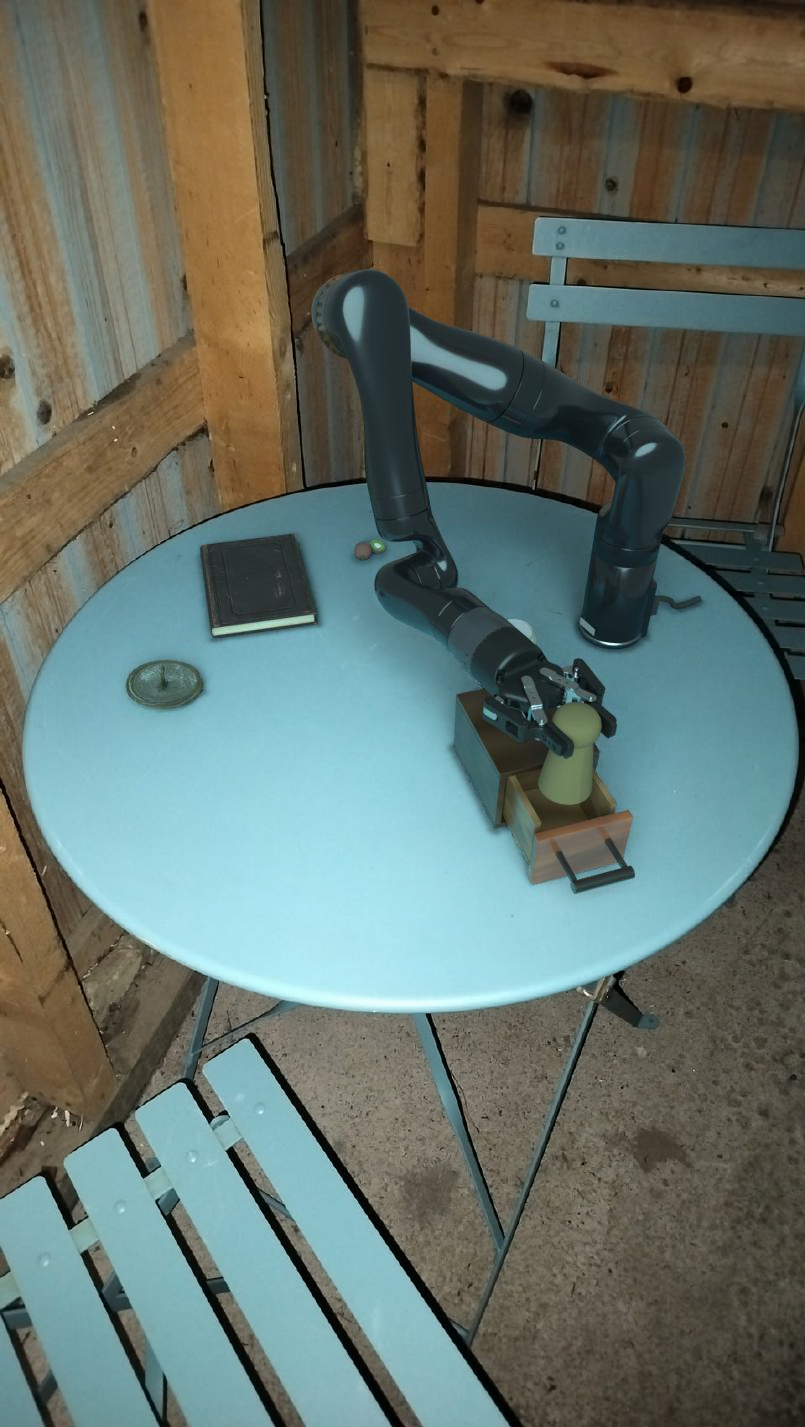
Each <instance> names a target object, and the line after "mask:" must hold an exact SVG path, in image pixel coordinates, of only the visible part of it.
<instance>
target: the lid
mask: <svg viewBox="0 0 805 1427" xmlns="http://www.w3.org/2000/svg"><path fill="white" fill-rule="evenodd" d="M203 683H204V682H203V679H202V676H201V674H200V672H199V671H198V669H196V667H194V666H193V665H191V664H189V663H185V662H183V661H177V660H168V659H167V660H166V659H164V660H163V659H162V660H161V659H160V660H154V661H150V662H146V663H143V664H141V665H138V666H137V667H136V668H134V669H133V670H132V671H131V672H130V673H129V674H128V677H127V678H126V682H125V690H126V693H127V696H128V697H129V698H130V699H131V700H132V701H133V702H135V703H137V704H138V705H141V706H143V707H147V708H150V709H160V710H167V709H175V708H180V707H183V706H185V705H187V704H189V703H191V702H192V701H194V700H195V699H196V698H198V696H199V695H200V694H201V692H203V685H204V684H203Z"/></svg>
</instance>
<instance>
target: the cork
mask: <svg viewBox="0 0 805 1427" xmlns="http://www.w3.org/2000/svg"><path fill="white" fill-rule="evenodd" d="M552 722H553V723H554V724H555V725H556V726H557V727H558V728H559V729H560V730H561V731H562V732H563V733H564V734H566V735H567V736H568V737H569V738H570V739H571V740H572V741H573V743H574V751H573V756H571V757H569V758H567V759H565V758H563V757H562V756H558V755H556V754H555V753H554V752H553V751H552V750H550V748H549V751H548V754H547V756H546V759H545V762H544V765H543V768H542V770H541V773H540V776H539V779H538V786H539V788H540V790H541V792H542V793H543V794H544V795H545V796H546V797H547V798H548V799H550V800H552V801H553V802H556V803H560V804H566V805H573V804H578V803H581V802H583V801H585V800H586V799H587V798H588V797H589V796H590V794H591V791H592V778H593V743H595V742H597V741H598V739H599V737H600V736H601V728H602V725H601V718H600V716H599V714H598V713H597V711H596V710H595V709H594V708H593V707H591V706H589V705H588V704H585V703H584V702H582V701H578V702H569V703H566V704H564V705H562V706H560V707H559V708H558V709H557V710H556V711H555V713H554V715H553V718H552Z"/></svg>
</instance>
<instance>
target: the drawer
mask: <svg viewBox="0 0 805 1427" xmlns="http://www.w3.org/2000/svg"><path fill="white" fill-rule="evenodd" d="M541 770H542V769H540V770H535V771H531V772H527V773H523V774H519V775H514V776H510V777H506V780H505V790H504V799H503V808H502V815H503V817H504V819H505V821H506V822H507V824H508V826H507V827H508V828H509V830H510V832H511V834H512V836H513V838H514V839H515V842H516V844H517V845H518V847H519V849H520V852H521V853H522V855H523V857H524V859H525V861H526V863H527V864H528V874H527V879H528V880H529V883H530V885H531V886H535V885H538V884H543V883H546V882H550V881H554V880H558V879H561V878H565V877H567V878H568V879H569V882H570V883H569V884H570V889H571V892H572V893H573V894H574V895H577V894H581V893H585V892H588V891H592V890H595V889H599V888H603V887H607V886H611V885H615V884H617V883H622V882H625V881H629V880H632V879H635V878H636V872H635V869H634V867H633V866H632V865H628V864H627V862H626V860H625V859H624V857H625V852H626V848H627V844H628V840H629V836H630V832H631V829H632V825H633V820H634V816H633V814H632V813H631V811H630V810H629V809H625V810H622V811H618V812H616V809H617V805H618V803H617V801H616V800H615V798H614V797H613V795H612V793H611V792H610V791H609V789H608V788H607V786H606V785H605V783H604V781H603V780H602V778H601V777H600V775H599V773H598V772H597V770H596V771H595V769H594V768H593V778H592V791H591V794H590V796H589V797H588V798H587V799H586V800H585V801H583V802H581V803H578V804H573V805H566V804H560V803H556V802H553V801H552V800H550V799H548V798H547V797H546V796H545V795H544V794H543V793H542V792H541V790H540V788H539V786H538V779H539V776H540V773H541ZM614 864H618V866H619V868H615V869H612V870H608V871H604V872H600V873H596V874H592V875H590V876H586V877H582V878H579V879H578V878H577V877H576V875H577V874H580V873H584V872H587V871H591V870H595V869H599V868H602V867H603V868H604V867H607V866H610V865H614Z"/></svg>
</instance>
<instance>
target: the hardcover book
mask: <svg viewBox="0 0 805 1427" xmlns="http://www.w3.org/2000/svg"><path fill="white" fill-rule="evenodd" d="M300 551H301V550H300V548H299V545H298V541H297V537H296V534H295V533H293V532H292V533H285V534H279V535H269V536H261V537H254V538H246V539H237V540H229V541H221V542H213V543H205V544H202V545H200V547H199V554H200V561H201V569H202V576H203V584H204V590H205V591H204V592H205V598H206V606H207V607H206V608H207V613H208V621H209V622H208V623H209V628H210V633H211V637H212V638H215V639H219V638H220V639H222V638H227V637H228V638H229V637H236V636H243V635H250V634H256V633H264V632H272V631H277V630H278V631H279V630H284V629H285V630H286V629H292V628H293V629H294V628H299V627H307V626H315V625H318V621H317V617H316V615H317V610H316V606H315V602H314V598H313V596H312V592H311V587H310V584H309V581H308V577H307V573H306V570H305V565H304V563H303V559H302V555H301V552H300Z"/></svg>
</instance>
